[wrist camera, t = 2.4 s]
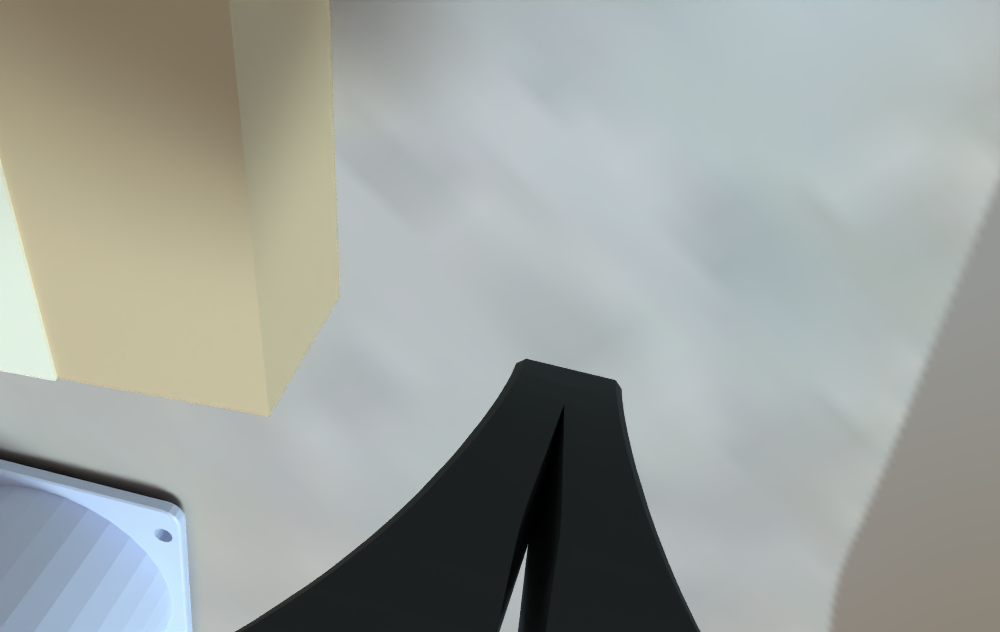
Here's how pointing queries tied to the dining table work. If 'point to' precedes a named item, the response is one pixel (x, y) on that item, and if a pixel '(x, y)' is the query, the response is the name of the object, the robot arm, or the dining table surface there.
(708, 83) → the dining table surface
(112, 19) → the carton
